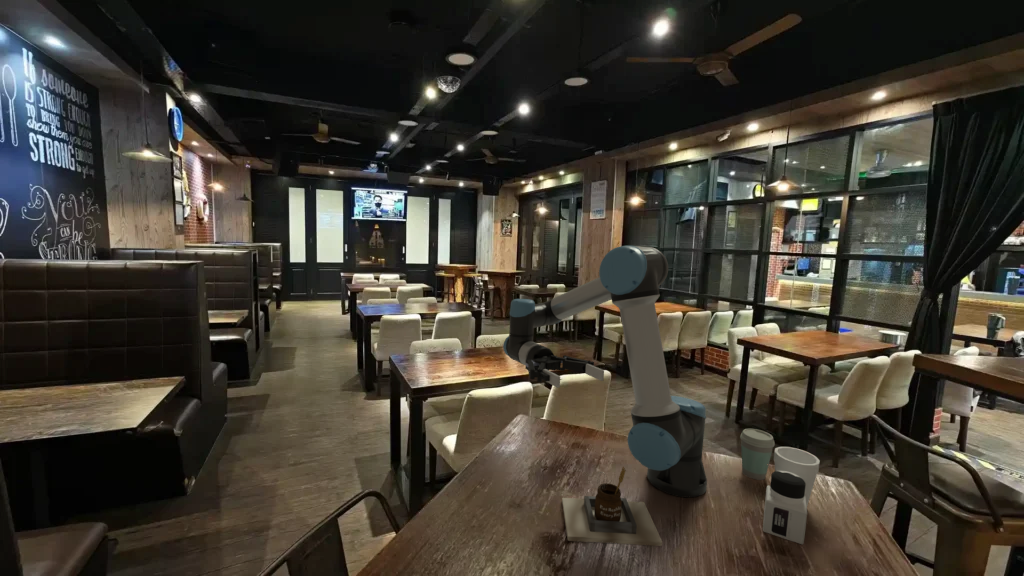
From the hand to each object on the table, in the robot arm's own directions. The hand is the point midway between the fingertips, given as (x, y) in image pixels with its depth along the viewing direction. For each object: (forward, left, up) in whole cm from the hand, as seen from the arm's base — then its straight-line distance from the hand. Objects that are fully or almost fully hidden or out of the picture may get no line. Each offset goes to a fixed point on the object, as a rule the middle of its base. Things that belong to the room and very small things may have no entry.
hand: (581, 378), depth 106 cm
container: (-46, +10, -30) cm, 56 cm away
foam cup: (-54, 0, -30) cm, 62 cm away
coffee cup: (-52, -14, -30) cm, 62 cm away
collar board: (-6, +11, -30) cm, 33 cm away
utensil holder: (-6, +11, -29) cm, 32 cm away
